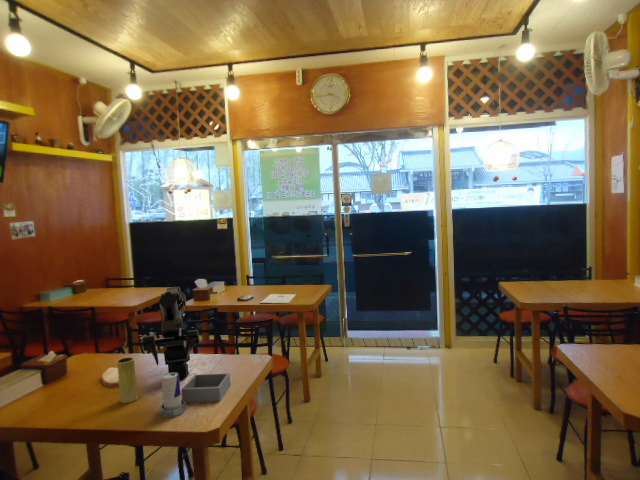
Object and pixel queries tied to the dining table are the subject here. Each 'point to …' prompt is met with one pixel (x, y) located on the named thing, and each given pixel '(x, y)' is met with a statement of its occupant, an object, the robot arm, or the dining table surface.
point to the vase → (127, 380)
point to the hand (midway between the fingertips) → (171, 362)
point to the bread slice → (111, 377)
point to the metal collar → (173, 410)
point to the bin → (206, 387)
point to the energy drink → (171, 391)
